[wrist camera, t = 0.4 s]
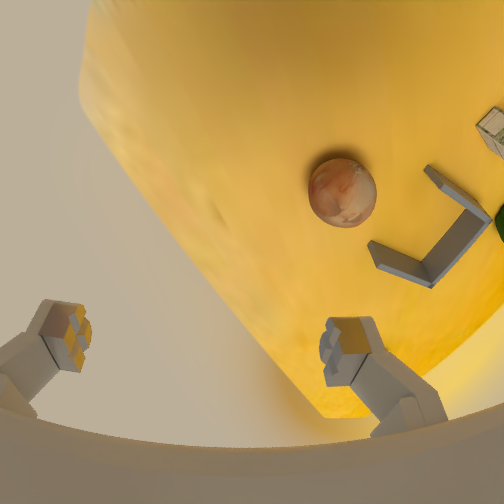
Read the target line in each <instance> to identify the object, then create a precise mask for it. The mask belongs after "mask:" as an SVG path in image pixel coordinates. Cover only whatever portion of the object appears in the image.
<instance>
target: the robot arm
mask: <svg viewBox="0 0 504 504" xmlns="http://www.w3.org/2000/svg"><path fill="white" fill-rule="evenodd" d="M85 314H86V311H85V308H84V305H81V304H76V303H70V302H63V301H54V300H48V299H45V300H43V301H42V302H41V304H40V306H39V308H38V310H37V311H36V313H35V315H34V317H33V319H32V321H31V322H30V324H29V327H28V328H27V330H26V332H21V333H20V334H19V335H17V336H16V337H14V338H13V339H12V340H10V341H9V342H8V343H6V344H5V345H3V346H2V347H1V348H0V504H504V403H501V404H499V405H496V406H493V407H490V408H487V409H484V410H482V411H479V412H476V413H473V414H469V415H466V416H463V417H460V418H456V419H453V420H450V421H448V418H447V415H446V413H445V410H444V408H443V405H442V402H441V400H440V397H439V395H438V392H437V391H436V390H435V389H434V388H433V387H432V386H430V385H429V384H428V383H427V382H425V381H424V380H423V379H422V378H421V377H420V376H418V375H417V374H416V373H415V372H414V371H412V370H411V369H410V368H409V367H408V366H406V365H405V364H404V363H403V362H402V361H400V360H399V359H398V358H397V357H396V356H394V355H393V354H392V353H391V352H388V353H387V352H386V349H385V347H384V344H383V342H382V339H381V337H380V334H379V332H378V329H377V327H376V324H375V322H374V320H373V318H372V317H371V316H366V317H329V318H328V320H327V322H326V325H325V326H326V330H327V331H325V332H324V333H323V334H322V336H321V339H320V345H319V352H320V358H321V361H322V362H323V363H324V364H326V366H325V368H324V370H323V372H324V376H325V381H326V385H327V387H334V386H350V388H351V389H352V390H353V391H354V392H355V393H356V395H357V396H358V397H359V398H360V399H361V400H362V401H363V402H364V404H365V405H366V406H367V407H368V408H369V409H370V410H371V412H372V413H373V414H374V415H375V416H376V417H377V418H378V419H379V421H380V423H379V425H378V426H377V427H376V428H375V429H374V430H373V431H372V433H371V434H370V436H371V438H367V439H361V440H354V441H347V442H338V443H331V444H319V445H309V446H294V447H274V448H273V447H272V448H220V447H219V448H218V447H199V446H185V445H173V444H163V443H154V442H147V441H139V440H132V439H126V438H120V437H114V436H108V435H103V434H98V433H93V432H88V431H83V430H79V429H75V428H70V427H66V426H62V425H58V424H55V423H51V422H47V421H44V420H40V419H37V413H36V411H35V410H34V409H33V408H32V407H31V405H30V404H29V402H30V401H31V400H32V399H33V398H34V397H35V395H36V394H37V393H38V392H39V391H40V390H41V389H42V388H43V387H44V386H45V385H46V384H47V383H48V382H49V381H50V380H51V379H52V378H53V377H54V376H55V375H56V374H57V373H58V372H59V370H66V371H72V372H78V373H80V372H81V369H82V366H83V363H84V360H85V356H84V353H83V352H84V351H85V350H86V349H87V348H89V345H90V342H91V336H92V330H91V325H90V322H89V321H88V320H87V319H86V318H85V317H84V316H85Z"/></svg>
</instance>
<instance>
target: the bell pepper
mask: <svg viewBox="0 0 504 504" xmlns="http://www.w3.org/2000/svg"><path fill="white" fill-rule="evenodd" d="M496 227H497V230H498V233H499V235H500V238H501V239H502V241H503V242H504V206H503V207H502V209H501V213H500V214H499V215H498V216H497V217H496Z"/></svg>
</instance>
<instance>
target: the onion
mask: <svg viewBox="0 0 504 504" xmlns="http://www.w3.org/2000/svg"><path fill="white" fill-rule="evenodd" d="M308 195H309V202H310V205H311V208H312V210H313V211H314V213H315V214H316V215H317V216H318V217H319V218H320V219H321V220H323V221H324V222H326V223H327V224H330V225H332V226H336V227H342V228H351V227H356V226H358V225H360V224H361V223H363V222H364V221H365V220H366V219H367V218H368V217H369V216H370V215H371V213H372V211H373V209H374V207H375V203H376V197H377V192H376V185H375V182H374V179H373V177H372V176H371V174H370V173H369V172H368V171H367V169H366V168H365V167H364V166H362V165H360V164H359V163H357V162H356V161H353V160H349V159H342V158H337V159H332V160H329V161H327V162H325V163H323V164H321V165H320V166H319V167H318V168H317V169H316V170H315V171H314V173H313V175H312V177H311V180H310V183H309V188H308Z"/></svg>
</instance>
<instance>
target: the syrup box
mask: <svg viewBox="0 0 504 504" xmlns="http://www.w3.org/2000/svg"><path fill="white" fill-rule="evenodd" d="M476 127H477V129H478V130H479V132H480V134H481V136H482V137H483V139H484V141H485V142H486V144H487V146H488V148H489V149H491V150H492V151H493V152H495V153H496V154H497V155H498V156H500V157H501V158H502V159H503V160H504V112H503V111H502V110H500V109H499V108H497V107H494V108H493V109H492V110H491V111H490V112H489V113H488V114H487V115H486V116H485V117H484V118H483V119H482V120H481V121H480V122H479V123H478V124H477V125H476Z"/></svg>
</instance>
